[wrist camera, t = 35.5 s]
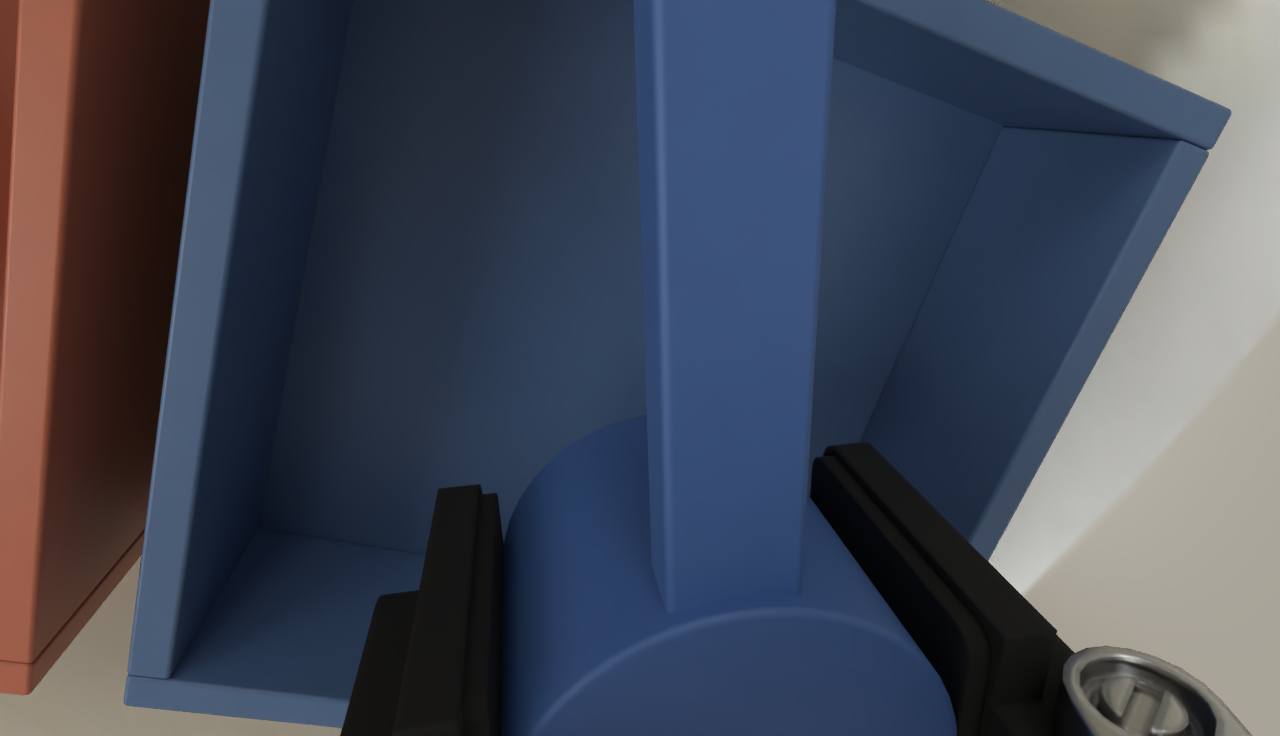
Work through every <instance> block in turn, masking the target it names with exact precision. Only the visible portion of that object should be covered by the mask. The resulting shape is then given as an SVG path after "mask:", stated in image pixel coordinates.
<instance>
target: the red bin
mask: <svg viewBox="0 0 1280 736" xmlns="http://www.w3.org/2000/svg"><path fill="white" fill-rule="evenodd" d="M209 8H210V0H0V693H9V694H18V695H28V694H30V693H31V692H32V691H33V690H34V688H35V687H36V686H37V685H38V683H39V682H40V681H41V680H42V678H43V677H44V676H45V675H46V673H47V672H48V671H49V670H50V668H51V667H52V666H53V665H54V663H55V662H56V661H57V660H58V658H59V657H60V656H61V655H62V653H63V652H64V651H65V650H66V648H67V647H68V646H69V645H70V643H71V642H72V641H73V640H74V638H75V637H76V636H77V635H78V633H79V632H80V631H81V630H82V628H83V627H84V626H85V625H86V623H87V622H88V621H89V620H90V618H91V617H92V616H93V615H94V613H95V612H96V611H97V610H98V608H99V607H100V606H101V605H102V603H103V602H104V601H105V600H106V598H107V597H108V596H109V595H110V593H111V592H112V591H113V590H114V588H115V587H116V586H117V585H118V583H119V582H120V581H121V580H122V578H123V577H124V576H125V575H126V573H127V572H128V571H129V570H130V568H131V567H132V566H133V565H134V563H135V562H136V561H137V560H138V558H139V557H140V556H141V555H142V549H143V541H144V533H145V525H146V517H147V509H148V500H149V492H150V484H151V476H152V468H153V460H154V452H155V444H156V436H157V428H158V420H159V412H160V404H161V395H162V387H163V379H164V371H165V363H166V355H167V347H168V339H169V331H170V323H171V315H172V307H173V299H174V290H175V282H176V274H177V266H178V258H179V250H180V242H181V234H182V226H183V218H184V210H185V202H186V194H187V185H188V177H189V169H190V161H191V153H192V145H193V137H194V129H195V121H196V113H197V105H198V97H199V89H200V81H201V72H202V64H203V56H204V48H205V40H206V32H207V24H208V16H209Z"/></svg>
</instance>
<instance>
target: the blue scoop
mask: <svg viewBox="0 0 1280 736" xmlns="http://www.w3.org/2000/svg"><path fill="white" fill-rule="evenodd" d="M633 2H634V33H635V64H636V95H637V126H638V157H639V188H640V219H641V251H642V282H643V313H644V344H645V375H646V406H647V415H645V416H639V417H633V418H630V419H626V420H623V421H619V422H616V423H613V424H610V425H608V426H605V427H603V428H601V429H598V430H596V431H593V432H592V433H590V434H588V435H586V436H584V437H583V438H581V439H579V440H577V441H576V442H574V443H573V444H571V445H570V446H568V447H567V448H566V449H564V450H563V451H562V452H560V453H559V454H558V455H556V456H555V457H554V458H553V459H552V460H551V461H550V462H549V463H548V464H547V465H546V466H545V467H544V468H543V469H542V470H541V471H540V472H539V473H538V474H537V475H536V477H535V478H534V479H533V480H532V482H531V483H530V484H529V485H528V487H527V488H526V490H525V491H524V493H523V495H522V496H521V498H520V499H519V501H518V503H517V505H516V507H515V509H514V512H513V514H512V516H511V519H510V521H509V525H508V528H507V532H506V536H505V540H504V583H503V633H502V683H501V733H500V736H957V726H956V719H955V715H954V711H953V707H952V703H951V700H950V696H949V694H948V692H947V690H946V688H945V686H944V684H943V682H942V680H941V678H940V676H939V675H938V673H937V672H936V670H935V669H934V668H933V666H932V665H931V664H930V662H929V661H928V659H927V658H926V657H925V655H924V654H923V652H922V651H921V650H920V648H919V647H918V646H917V644H916V643H915V641H914V640H913V639H912V637H911V636H910V635H909V633H908V632H907V630H906V629H905V628H904V626H903V625H902V623H901V622H900V621H899V619H898V618H897V617H896V615H895V614H894V612H893V611H892V610H891V608H890V607H889V606H888V604H887V603H886V601H885V600H884V599H883V597H882V596H881V595H880V593H879V592H878V590H877V589H876V588H875V586H874V585H873V583H872V582H871V581H870V579H869V578H868V577H867V575H866V574H865V572H864V571H863V570H862V568H861V567H860V566H859V564H858V563H857V561H856V560H855V559H854V557H853V556H852V554H851V553H850V552H849V550H848V549H847V548H846V546H845V545H844V543H843V542H842V541H841V539H840V538H839V537H838V535H837V534H836V532H835V531H834V530H833V528H832V527H831V525H830V524H829V523H828V521H827V520H826V519H825V517H824V516H823V514H822V513H821V512H820V510H819V509H818V508H817V506H816V505H815V503H814V502H813V501H812V499H811V498H810V496H809V495H808V494H807V484H808V467H809V451H810V434H811V417H812V401H813V384H814V367H815V351H816V334H817V317H818V300H819V284H820V267H821V250H822V234H823V217H824V200H825V184H826V167H827V150H828V134H829V117H830V100H831V84H832V67H833V50H834V34H835V17H836V0H633Z"/></svg>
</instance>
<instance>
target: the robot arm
mask: <svg viewBox="0 0 1280 736" xmlns="http://www.w3.org/2000/svg"><path fill="white" fill-rule="evenodd" d="M810 498H811V499H812V501H813V502H814V503H815V505H816V506H817V508H818V509H819V510H820V512H821V513H822V514H823V516H824V517H825V519H826V520H827V521H828V523H829V524H830V525H831V527H832V528H833V530H834V531H835V532H836V534H837V535H838V537H839V538H840V539H841V541H842V542H843V543H844V545H845V546H846V548H847V549H848V550H849V552H850V553H851V554H852V556H853V557H854V559H855V560H856V561H857V563H858V564H859V566H860V567H861V568H862V570H863V571H864V572H865V574H866V575H867V577H868V578H869V579H870V581H871V582H872V583H873V585H874V586H875V588H876V589H877V590H878V592H879V593H880V595H881V596H882V597H883V599H884V600H885V601H886V603H887V604H888V606H889V607H890V608H891V610H892V611H893V612H894V614H895V615H896V617H897V618H898V619H899V621H900V622H901V623H902V625H903V626H904V628H905V629H906V630H907V632H908V633H909V635H910V636H911V637H912V639H913V640H914V641H915V643H916V644H917V646H918V647H919V648H920V650H921V651H922V652H923V654H924V655H925V657H926V658H927V659H928V661H929V662H930V664H931V665H932V666H933V668H934V669H935V670H936V672H937V673H938V675H939V676H940V678H941V680H942V682H943V684H944V686H945V688H946V690H947V692H948V694H949V696H950V700H951V703H952V707H953V711H954V715H955V719H956V726H957V736H1252V735H1251V733H1250V732H1249V731H1248V730H1247V729H1246V728H1245V727H1244V725H1243V724H1242V723H1241V722H1240V721H1239V720H1238V718H1237V717H1236V716H1235V715H1234V714H1233V713H1232V712H1231V710H1230V709H1229V708H1228V707H1227V706H1226V704H1224V702H1223V701H1222V700H1221V699H1220V698H1219V697H1218V696H1217V695H1216V694H1214V692H1213V691H1211V690H1210V689H1209V688H1208V687H1207V686H1206V685H1205V684H1204V683H1203V682H1201V681H1200V680H1198V679H1197V678H1195V677H1194V676H1192V675H1190V674H1189V673H1187V672H1186V671H1184V670H1183V669H1181V668H1180V667H1177V666H1175V665H1173V664H1171V663H1169V662H1166V661H1164V660H1162V659H1160V658H1158V657H1156V656H1153V655H1149V654H1146V653H1142V652H1139V651H1136V650H1132V649H1128V648H1119V647H1111V646H1101V647H1092V648H1085V649H1083V650H1081V651H1079V652H1076V653H1074V652H1073V651H1072V650H1071V649H1070V648H1069V647H1068V646H1067V645H1066V644H1065V643H1064V642H1063V641H1062V640H1061V639H1060V638H1059V637H1058V636H1057V635H1056V633H1057V630H1056V629H1055V628H1054V627H1053V626H1052V625H1051V624H1050V623H1049V622H1048V621H1047V620H1046V619H1045V618H1044V617H1043V616H1042V615H1041V614H1040V613H1039V612H1038V611H1037V610H1036V609H1035V608H1034V607H1033V606H1032V605H1031V604H1030V603H1029V602H1028V601H1027V600H1026V599H1025V598H1024V597H1023V596H1022V595H1021V594H1020V593H1019V592H1018V591H1017V590H1016V589H1015V588H1014V587H1013V586H1012V585H1011V584H1010V583H1009V582H1008V581H1007V580H1006V579H1005V578H1004V577H1003V576H1002V575H1001V574H1000V573H999V572H998V571H997V570H996V569H995V568H994V567H993V566H992V565H991V564H990V563H989V562H988V561H987V560H986V559H985V558H984V557H983V556H982V555H981V554H980V553H979V552H978V551H977V550H976V549H975V548H974V547H973V546H972V545H971V544H970V543H969V542H968V541H967V540H966V539H965V538H964V537H963V536H962V535H961V534H960V533H959V532H958V531H957V530H956V529H955V528H954V527H953V526H952V525H951V524H950V523H949V522H948V521H947V520H946V519H945V518H944V517H943V516H942V515H941V514H940V513H939V512H938V511H937V510H936V509H935V508H934V507H933V506H932V505H931V504H930V503H929V502H928V501H927V500H926V499H925V498H924V497H923V496H922V495H921V494H920V493H919V492H918V491H917V490H916V489H915V488H914V487H913V486H912V485H911V484H910V483H909V482H908V481H907V480H906V479H905V478H904V477H903V476H902V475H901V474H900V473H899V472H898V471H897V470H896V469H895V468H894V467H893V466H892V465H891V464H890V463H889V462H888V461H887V460H886V459H885V458H884V457H883V456H882V455H881V454H880V453H879V452H878V451H877V450H876V449H875V448H874V447H873V446H872V445H871V444H869V443H868V442H859V443H850V444H841V445H832V446H828V447H827V448H826V449H825V451H824V454H823V456H822V457H816V458H815V459H814V461H813V465H812V476H811V492H810ZM503 583H504V542H503V534H502V526H501V517H500V509H499V501H498V495H497V493H491V494H483V493H482V488H481V485H480V484H475V485H466V486H457V487H448V488H440V489H438V492H437V497H436V502H435V507H434V513H433V518H432V523H431V529H430V534H429V539H428V545H427V550H426V555H425V561H424V566H423V571H422V577H421V582H420V587H419V590H415V591H408V592H400V593H392V594H384V595H381V596H380V597H379V598H378V600H377V602H376V605H375V608H374V612H373V615H372V619H371V623H370V626H369V630H368V634H367V638H366V641H365V645H364V649H363V653H362V656H361V660H360V664H359V668H358V671H357V675H356V679H355V683H354V686H353V690H352V694H351V698H350V701H349V705H348V709H347V713H346V716H345V720H344V724H343V728H342V731H341V735H340V736H500V733H501V683H502V633H503Z"/></svg>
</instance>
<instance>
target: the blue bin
mask: <svg viewBox="0 0 1280 736" xmlns="http://www.w3.org/2000/svg"><path fill="white" fill-rule="evenodd" d="M1230 116H1231V110H1230V109H1228V108H1226V107H1224V106H1221V105H1219V104H1217V103H1215V102H1212V101H1210V100H1208V99H1206V98H1203V97H1201V96H1199V95H1197V94H1194V93H1192V92H1190V91H1188V90H1185V89H1183V88H1181V87H1179V86H1176V85H1174V84H1172V83H1170V82H1167V81H1165V80H1163V79H1161V78H1158V77H1156V76H1154V75H1152V74H1149V73H1147V72H1145V71H1143V70H1141V69H1138V68H1136V67H1134V66H1132V65H1129V64H1127V63H1125V62H1123V61H1120V60H1118V59H1116V58H1114V57H1111V56H1109V55H1107V54H1105V53H1102V52H1100V51H1098V50H1096V49H1093V48H1091V47H1089V46H1087V45H1084V44H1082V43H1080V42H1078V41H1075V40H1073V39H1071V38H1069V37H1066V36H1064V35H1062V34H1060V33H1057V32H1055V31H1053V30H1051V29H1049V28H1046V27H1044V26H1042V25H1040V24H1037V23H1035V22H1033V21H1031V20H1028V19H1026V18H1024V17H1022V16H1019V15H1017V14H1015V13H1013V12H1010V11H1008V10H1006V9H1004V8H1001V7H999V6H997V5H995V4H992V3H990V2H988V1H986V0H836V17H835V34H834V50H833V67H832V84H831V100H830V117H829V134H828V150H827V167H826V184H825V200H824V217H823V234H822V250H821V267H820V284H819V300H818V317H817V334H816V351H815V367H814V384H813V401H812V417H811V434H810V451H809V467H808V484H807V494H808V495H809V496H810V492H811V476H812V465H813V461H814V459H815V458H816V457H822V456H823V454H824V451H825V449H826V448H827V447H828V446H832V445H841V444H850V443H859V442H868V443H869V444H871V445H872V446H873V447H874V448H875V449H876V450H877V451H878V452H879V453H880V454H881V455H882V456H883V457H884V458H885V459H886V460H887V461H888V462H889V463H890V464H891V465H892V466H893V467H894V468H895V469H896V470H897V471H898V472H899V473H900V474H901V475H902V476H903V477H904V478H905V479H906V480H907V481H908V482H909V483H910V484H911V485H912V486H913V487H914V488H915V489H916V490H917V491H918V492H919V493H920V494H921V495H922V496H923V497H924V498H925V499H926V500H927V501H928V502H929V503H930V504H931V505H932V506H933V507H934V508H935V509H936V510H937V511H938V512H939V513H940V514H941V515H942V516H943V517H944V518H945V519H946V520H947V521H948V522H949V523H950V524H951V525H952V526H953V527H954V528H955V529H956V530H957V531H958V532H959V533H960V534H961V535H962V536H963V537H964V538H965V539H966V540H967V541H968V542H969V543H970V544H971V545H972V546H973V547H974V548H975V549H976V550H977V551H978V552H979V553H980V554H981V555H982V556H983V557H984V558H985V559H986V560H987V561H988V560H989V559H990V557H991V555H992V553H993V551H994V549H995V548H996V546H997V544H998V542H999V540H1000V538H1001V536H1002V535H1003V533H1004V531H1005V529H1006V527H1007V525H1008V524H1009V522H1010V520H1011V518H1012V516H1013V514H1014V513H1015V511H1016V509H1017V507H1018V505H1019V503H1020V502H1021V500H1022V498H1023V496H1024V494H1025V492H1026V490H1027V489H1028V487H1029V485H1030V483H1031V481H1032V479H1033V478H1034V476H1035V474H1036V472H1037V470H1038V468H1039V467H1040V465H1041V463H1042V461H1043V459H1044V457H1045V456H1046V454H1047V452H1048V450H1049V448H1050V446H1051V445H1052V443H1053V441H1054V439H1055V437H1056V435H1057V433H1058V432H1059V430H1060V428H1061V426H1062V424H1063V422H1064V421H1065V419H1066V417H1067V415H1068V413H1069V411H1070V410H1071V408H1072V406H1073V404H1074V402H1075V400H1076V399H1077V397H1078V395H1079V393H1080V391H1081V389H1082V387H1083V386H1084V384H1085V382H1086V380H1087V378H1088V376H1089V375H1090V373H1091V371H1092V369H1093V367H1094V365H1095V364H1096V362H1097V360H1098V358H1099V356H1100V354H1101V353H1102V351H1103V349H1104V347H1105V345H1106V343H1107V341H1108V340H1109V338H1110V336H1111V334H1112V332H1113V330H1114V329H1115V327H1116V325H1117V323H1118V321H1119V319H1120V318H1121V316H1122V314H1123V312H1124V310H1125V308H1126V307H1127V305H1128V303H1129V301H1130V299H1131V297H1132V295H1133V294H1134V292H1135V290H1136V288H1137V286H1138V284H1139V283H1140V281H1141V279H1142V277H1143V275H1144V273H1145V272H1146V270H1147V268H1148V266H1149V264H1150V262H1151V261H1152V259H1153V257H1154V255H1155V253H1156V251H1157V250H1158V248H1159V246H1160V244H1161V242H1162V240H1163V238H1164V237H1165V235H1166V233H1167V231H1168V229H1169V227H1170V226H1171V224H1172V222H1173V220H1174V218H1175V216H1176V215H1177V213H1178V211H1179V209H1180V207H1181V205H1182V204H1183V202H1184V200H1185V198H1186V196H1187V194H1188V192H1189V191H1190V189H1191V187H1192V185H1193V183H1194V181H1195V180H1196V178H1197V176H1198V174H1199V172H1200V170H1201V169H1202V167H1203V165H1204V163H1205V161H1206V159H1207V158H1208V155H1209V153H1208V151H1206V150H1208V149H1212V148H1213V147H1214V145H1215V143H1216V141H1217V139H1218V138H1219V136H1220V134H1221V132H1222V130H1223V128H1224V127H1225V125H1226V123H1227V121H1228V119H1229V117H1230ZM645 415H647V406H646V375H645V344H644V313H643V282H642V251H641V219H640V188H639V157H638V126H637V95H636V64H635V33H634V2H633V0H210V8H209V16H208V24H207V32H206V40H205V48H204V56H203V64H202V72H201V81H200V89H199V97H198V105H197V113H196V121H195V129H194V137H193V145H192V153H191V161H190V169H189V177H188V185H187V194H186V202H185V210H184V218H183V226H182V234H181V242H180V250H179V258H178V266H177V274H176V282H175V290H174V299H173V307H172V315H171V323H170V331H169V339H168V347H167V355H166V363H165V371H164V379H163V387H162V395H161V404H160V412H159V420H158V428H157V436H156V444H155V452H154V460H153V468H152V476H151V484H150V492H149V500H148V509H147V517H146V525H145V533H144V541H143V549H142V557H141V565H140V573H139V581H138V589H137V597H136V605H135V614H134V622H133V630H132V638H131V646H130V654H129V662H128V676H127V678H126V686H125V694H124V704H125V705H127V706H134V707H144V708H153V709H163V710H173V711H182V712H192V713H202V714H211V715H221V716H231V717H240V718H250V719H260V720H269V721H279V722H289V723H298V724H308V725H318V726H327V727H337V728H343V724H344V720H345V716H346V713H347V709H348V705H349V701H350V698H351V694H352V690H353V686H354V683H355V679H356V675H357V671H358V668H359V664H360V660H361V656H362V653H363V649H364V645H365V641H366V638H367V634H368V630H369V626H370V623H371V619H372V615H373V612H374V608H375V605H376V602H377V600H378V598H379V597H380V596H381V595H384V594H392V593H400V592H408V591H415V590H419V587H420V582H421V577H422V571H423V566H424V561H425V555H426V550H427V545H428V539H429V534H430V529H431V523H432V518H433V513H434V507H435V502H436V497H437V492H438V489H440V488H448V487H457V486H466V485H475V484H480V485H481V488H482V493H483V494H491V493H497V495H498V501H499V509H500V517H501V526H502V534H503V542H504V540H505V536H506V532H507V528H508V525H509V521H510V519H511V516H512V514H513V512H514V509H515V507H516V505H517V503H518V501H519V499H520V498H521V496H522V495H523V493H524V491H525V490H526V488H527V487H528V485H529V484H530V483H531V482H532V480H533V479H534V478H535V477H536V475H537V474H538V473H539V472H540V471H541V470H542V469H543V468H544V467H545V466H546V465H547V464H548V463H549V462H550V461H551V460H552V459H553V458H554V457H555V456H556V455H558V454H559V453H560V452H562V451H563V450H564V449H566V448H567V447H568V446H570V445H571V444H573V443H574V442H576V441H577V440H579V439H581V438H583V437H584V436H586V435H588V434H590V433H592V432H593V431H596V430H598V429H601V428H603V427H605V426H608V425H610V424H613V423H616V422H619V421H623V420H626V419H630V418H633V417H639V416H645Z"/></svg>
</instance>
